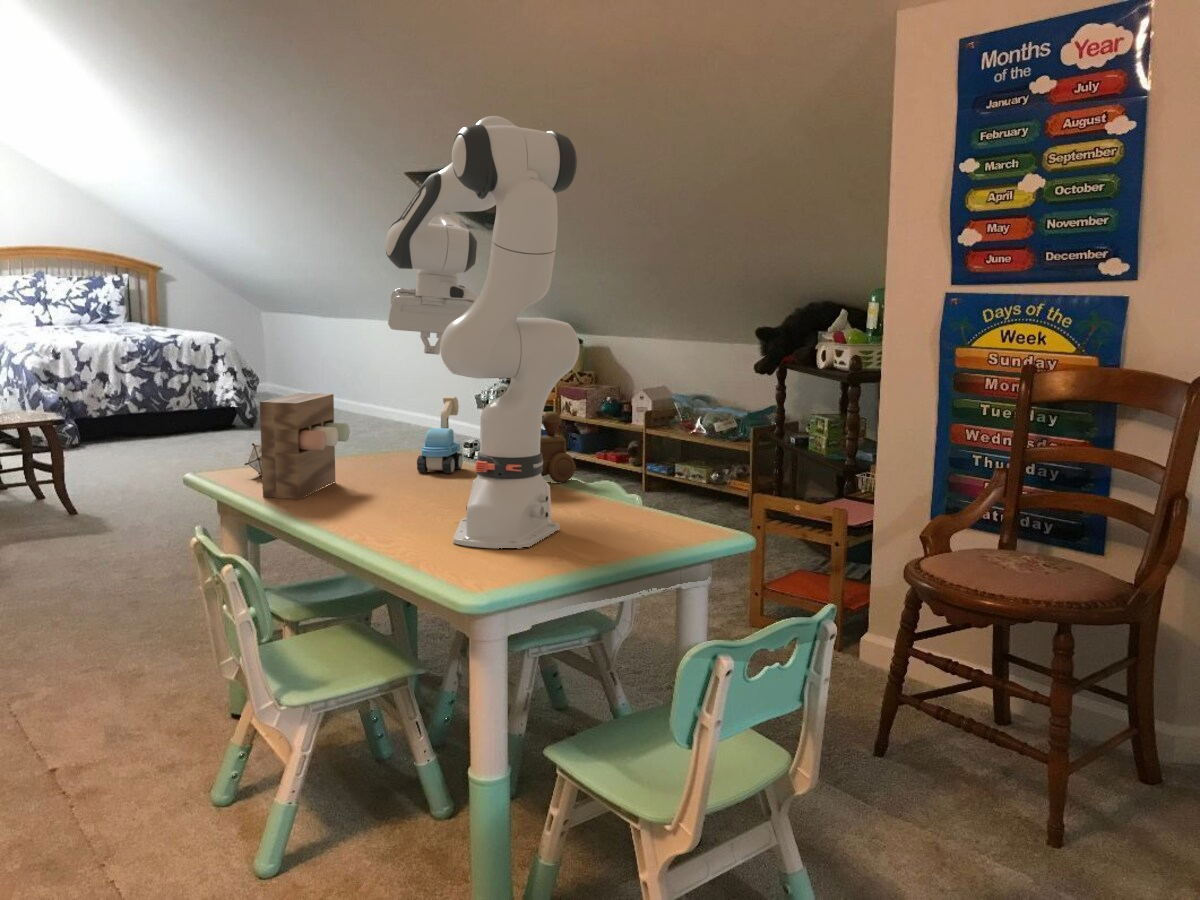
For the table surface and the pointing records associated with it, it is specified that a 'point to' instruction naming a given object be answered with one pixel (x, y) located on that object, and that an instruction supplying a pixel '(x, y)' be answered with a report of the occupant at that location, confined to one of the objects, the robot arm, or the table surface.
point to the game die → (256, 459)
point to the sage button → (340, 430)
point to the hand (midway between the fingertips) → (431, 354)
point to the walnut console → (295, 445)
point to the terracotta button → (312, 440)
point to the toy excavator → (441, 443)
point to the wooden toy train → (555, 451)
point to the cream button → (328, 434)
